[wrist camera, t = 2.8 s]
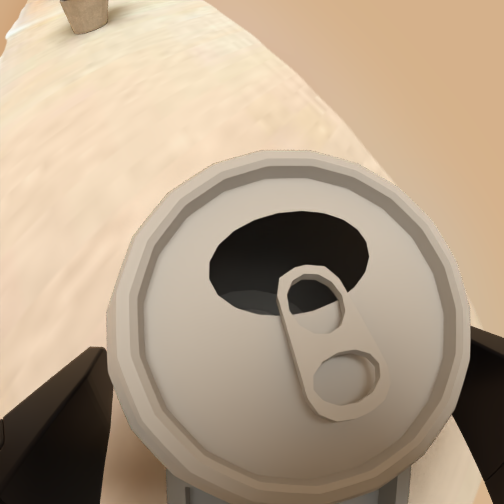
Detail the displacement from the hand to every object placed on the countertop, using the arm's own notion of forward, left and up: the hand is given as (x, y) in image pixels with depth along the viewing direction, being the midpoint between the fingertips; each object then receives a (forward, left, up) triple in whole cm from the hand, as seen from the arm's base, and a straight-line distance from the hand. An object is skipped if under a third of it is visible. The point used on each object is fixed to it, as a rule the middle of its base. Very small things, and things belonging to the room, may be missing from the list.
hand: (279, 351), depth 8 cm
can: (0, 0, -8) cm, 8 cm away
